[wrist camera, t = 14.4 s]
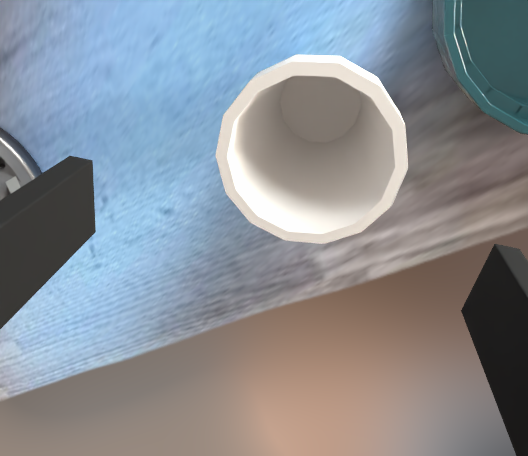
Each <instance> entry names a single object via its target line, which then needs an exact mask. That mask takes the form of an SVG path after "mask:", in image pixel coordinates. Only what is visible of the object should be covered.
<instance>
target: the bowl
mask: <svg viewBox="0 0 528 456" xmlns="http://www.w3.org/2000/svg"><path fill="white" fill-rule="evenodd" d="M432 29H433V30H432V32H433V35H434V38H435V41H436V44H437V47H438V51H439V54H440V57H441V60H442V63H443V66H444V68H445V70H446V72H447V73H448V74H449V75H450V77H451V78H452V79H453V80H454V82H455V83H456V84H457V85H458V87H459V88H460V89H461V91H462V92H463V93H464V94H465V96H466V97H467V98H468V99H469V100H470V101H471V102H473V103H474V104H475V105H476V106H477V107H478V108H479V109H480V110H482V111H483V112H484V113H486V114H487V115H489V116H491V117H492V118H494V119H496V120H498V121H499V122H501V123H503V124H504V125H506V126H508V127H510V128H511V129H513V130H515V131H517V132H519V133H522V134H527V135H528V0H432Z"/></svg>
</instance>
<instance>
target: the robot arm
mask: <svg viewBox="0 0 528 456" xmlns="http://www.w3.org/2000/svg"><path fill="white" fill-rule="evenodd" d="M94 233H95V209H94V186H93V163H92V160H88V159H83V158H78V157H73V156H69V157H67V158H66V159H64V160H63V161H61V162H60V163H58V164H56V165H55V166H53V167H52V168H50V169H49V170H47V171H45V172H44V173H42V172H41V170H40V169H39V167H38V165H37V164H36V162H35V161H34V160H33V158H32V157H31V156H30V154H29V153H28V152H27V151H26V150H25V149H24V147H23V146H22V145H21V144H20V143H19V142H18V141H17V140H15V139H14V138H13V137H12V136H11V135H10V134H8V133H7V132H6V131H4V130H3V129H2V128H0V329H1V328H2V327H3V326H4V325H5V324H6V323H7V322H8V321H9V320H10V319H11V318H12V317H13V316H14V315H15V314H16V313H17V312H18V311H19V310H20V309H21V308H22V306H23V305H24V304H25V303H26V302H27V301H28V300H29V299H30V298H31V297H32V296H33V295H34V294H35V293H36V292H37V291H38V290H39V289H40V288H41V287H42V286H43V285H44V284H45V283H46V282H47V281H48V280H49V279H50V278H51V277H52V276H53V275H54V274H55V273H56V272H57V271H58V270H59V269H60V268H61V267H62V266H63V265H64V264H65V263H66V262H67V261H68V260H69V259H70V257H71V256H72V255H73V254H74V253H75V252H76V251H77V250H78V249H79V248H80V247H81V246H82V245H83V244H84V243H85V242H86V241H87V240H88V239H89V238H90V237H91V236H92V235H93V234H94ZM461 311H462V314H463V316H464V319H465V322H466V324H467V327H468V330H469V332H470V335H471V338H472V340H473V343H474V346H475V348H476V351H477V353H478V356H479V359H480V361H481V364H482V366H483V369H484V372H485V374H486V377H487V380H488V382H489V385H490V388H491V390H492V392H493V395H494V398H495V401H496V403H497V406H498V408H499V411H500V414H501V416H502V419H503V422H504V424H505V427H506V429H507V432H508V434H509V437H510V440H511V442H512V445H513V448H514V450H515V453H516V456H528V261H527V259H526V258H525V257H524V255H523V254H522V252H521V251H520V249H517V248H512V247H508V246H503V245H498V244H494V246H493V248H492V250H491V252H490V254H489V256H488V259H487V260H486V262H485V264H484V266H483V268H482V270H481V272H480V274H479V276H478V278H477V280H476V282H475V284H474V286H473V288H472V290H471V292H470V294H469V296H468V298H467V300H466V302H465V304H464V307H463V308H462V310H461Z"/></svg>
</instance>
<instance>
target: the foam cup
mask: <svg viewBox="0 0 528 456" xmlns="http://www.w3.org/2000/svg"><path fill="white" fill-rule="evenodd" d="M216 159H217V163H218V166H219V170H220V174H221V177H222V181H223V185H224V188H225V192H226V194H227V195H228V196H229V198H230V199H231V200H232V201H233V202H234V204H235V205H236V206H237V207H238V208H239V210H240V211H241V212H242V213H243V214H244V216H245V217H246V218H247V219H248V220H249V222H250V223H252V224H254V225H256V226H258V227H260V228H262V229H264V230H265V231H267V232H269V233H271V234H273V235H275V236H277V237H279V238H281V239H283V240H286V241H297V242H309V243H320V244H324V243H328V242H331V241H334V240H337V239H341V238H344V237H347V236H350V235H354V234H357V233H360V232H362V231H363V230H364V229H365V228H367V227H368V226H369V225H370V224H371V223H372V222H373V221H375V220H376V219H377V218H378V217H379V216H380V215H382V214H383V213H384V212H385V211H386V210H387V209H389V208H390V207H391V206H392V204H393V202H394V199H395V197H396V195H397V192H398V190H399V188H400V186H401V183H402V181H403V179H404V177H405V174H406V172H407V170H408V157H407V142H406V127H405V123H404V121H403V119H402V116H401V114H400V112H399V111H398V109H397V107H396V106H395V104H394V103H393V101H392V99H391V98H390V96H389V95H388V93H387V92H386V90H385V88H384V87H383V85H382V84H381V82H380V80H379V79H378V77H376V76H375V75H373V74H371V73H369V72H367V71H366V70H364V69H362V68H360V67H359V66H357V65H355V64H353V63H352V62H350V61H348V60H346V59H345V58H343V57H341V56H328V55H298V54H296V55H294V56H292V57H290V58H288V59H286V60H284V61H282V62H279V63H277V64H275V65H273V66H271V67H269V68H267V69H265V70H262V71H260V72H258V73H257V74H256V75H255V76H254V77H253V78H252V79H251V80H250V81H249V83H248V84H247V85H246V87H245V88H244V89H243V90H242V92H241V93H240V94H239V96H238V97H237V98H236V99H235V101H234V102H233V103H232V105H231V106H230V107H229V108H228V110H227V111H226V112H225V114H224V115H223V119H222V124H221V129H220V135H219V140H218V145H217V150H216Z"/></svg>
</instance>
